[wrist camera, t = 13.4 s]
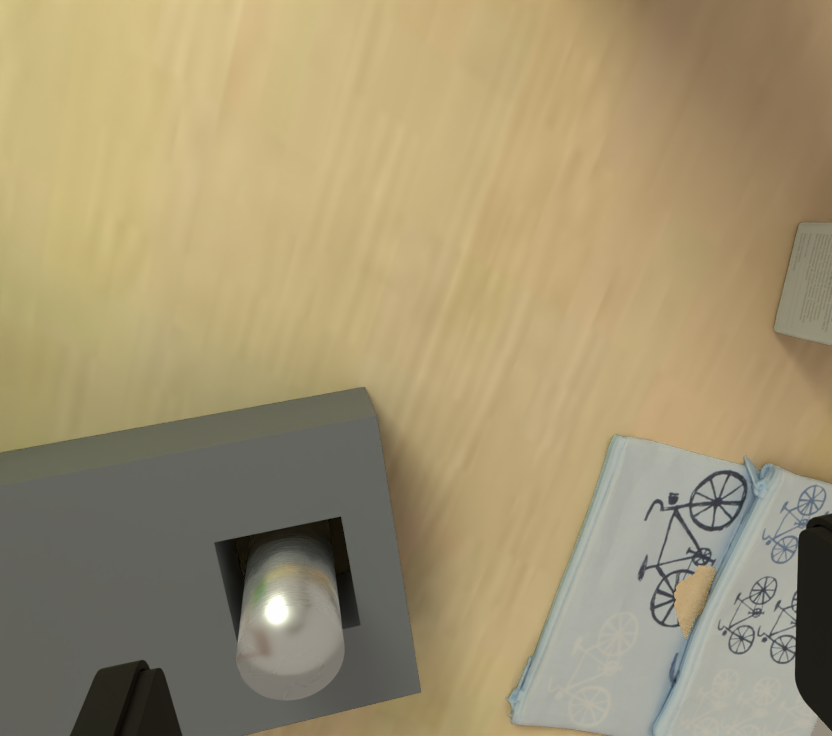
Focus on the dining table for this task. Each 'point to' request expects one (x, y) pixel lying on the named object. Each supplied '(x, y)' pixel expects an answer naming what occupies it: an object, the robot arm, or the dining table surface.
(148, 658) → the socket plate
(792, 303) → the skincare box
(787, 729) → the folded cloth
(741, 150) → the dining table surface
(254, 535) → the metal peg
